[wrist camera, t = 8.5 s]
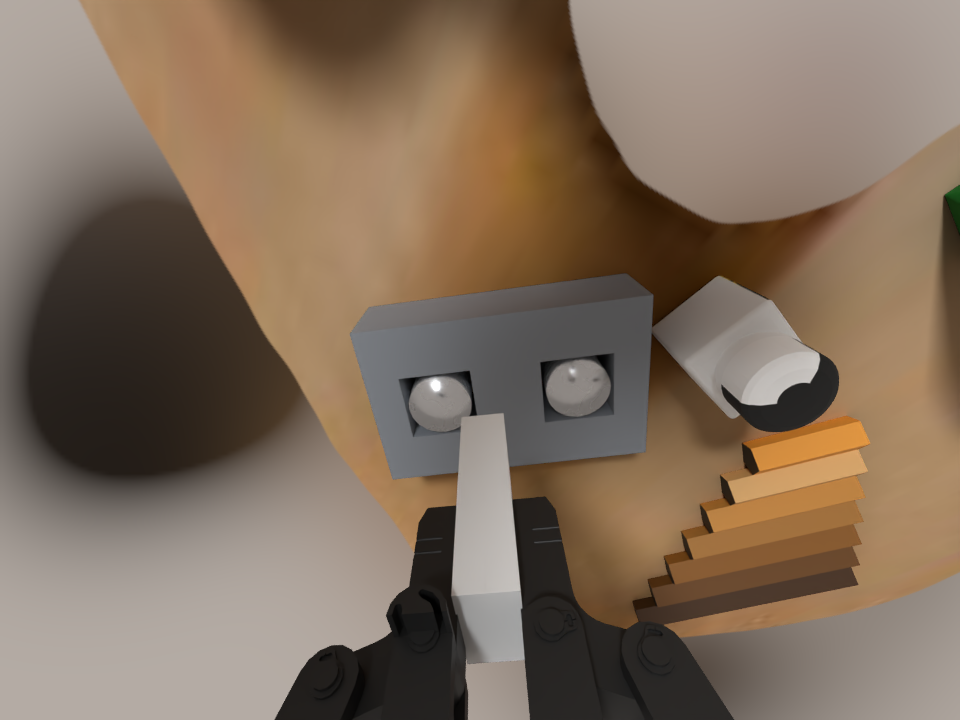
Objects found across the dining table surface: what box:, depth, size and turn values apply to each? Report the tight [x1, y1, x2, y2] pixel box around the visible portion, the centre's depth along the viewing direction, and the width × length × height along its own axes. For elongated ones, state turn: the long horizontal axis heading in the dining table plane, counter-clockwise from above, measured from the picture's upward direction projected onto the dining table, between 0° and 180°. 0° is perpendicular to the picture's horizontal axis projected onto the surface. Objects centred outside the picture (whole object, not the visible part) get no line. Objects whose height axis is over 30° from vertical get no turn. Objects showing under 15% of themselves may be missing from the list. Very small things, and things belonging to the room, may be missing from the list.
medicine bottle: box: [652, 276, 839, 432], centre depth 32 cm, size 7×7×12 cm
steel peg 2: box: [540, 355, 611, 417], centre depth 35 cm, size 5×5×5 cm
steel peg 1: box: [409, 371, 472, 432], centre depth 36 cm, size 5×5×5 cm
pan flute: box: [633, 416, 870, 625], centre depth 47 cm, size 25×3×25 cm
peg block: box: [350, 273, 653, 479], centre depth 36 cm, size 14×22×6 cm, turn 98°
